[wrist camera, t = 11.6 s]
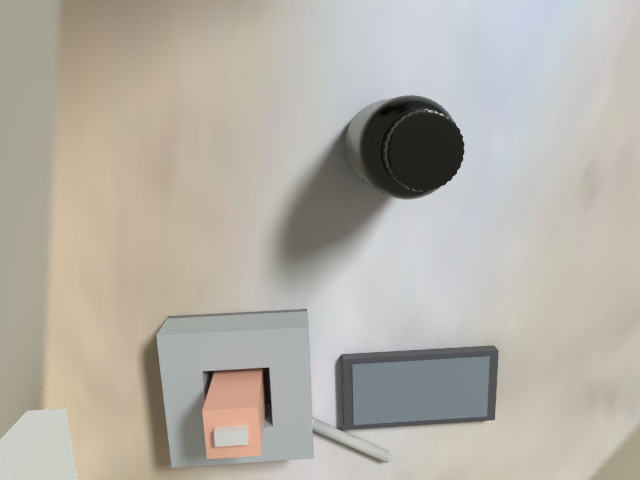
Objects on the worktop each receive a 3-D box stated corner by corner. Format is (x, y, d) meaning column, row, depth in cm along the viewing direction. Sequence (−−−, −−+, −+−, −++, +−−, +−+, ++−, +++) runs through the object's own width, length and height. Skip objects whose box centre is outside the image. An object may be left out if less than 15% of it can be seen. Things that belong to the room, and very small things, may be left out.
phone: (341, 354, 44) (343, 360, 43) (493, 345, 45) (498, 350, 44) (343, 423, 46) (344, 430, 45) (490, 413, 47) (495, 420, 46)
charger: (217, 359, 43) (200, 415, 35) (263, 357, 43) (257, 411, 35) (221, 400, 44) (205, 464, 36) (266, 397, 44) (260, 460, 36)
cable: (304, 422, 46) (304, 429, 45) (309, 414, 46) (309, 420, 45) (387, 459, 47) (389, 466, 46) (392, 451, 47) (394, 458, 46)
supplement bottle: (358, 197, 41) (385, 224, 30) (332, 117, 40) (350, 113, 28) (436, 169, 41) (493, 186, 30) (413, 89, 40) (464, 73, 28)
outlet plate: (168, 316, 43) (156, 335, 39) (306, 309, 43) (308, 327, 39) (181, 438, 45) (171, 467, 41) (311, 430, 46) (313, 458, 42)
